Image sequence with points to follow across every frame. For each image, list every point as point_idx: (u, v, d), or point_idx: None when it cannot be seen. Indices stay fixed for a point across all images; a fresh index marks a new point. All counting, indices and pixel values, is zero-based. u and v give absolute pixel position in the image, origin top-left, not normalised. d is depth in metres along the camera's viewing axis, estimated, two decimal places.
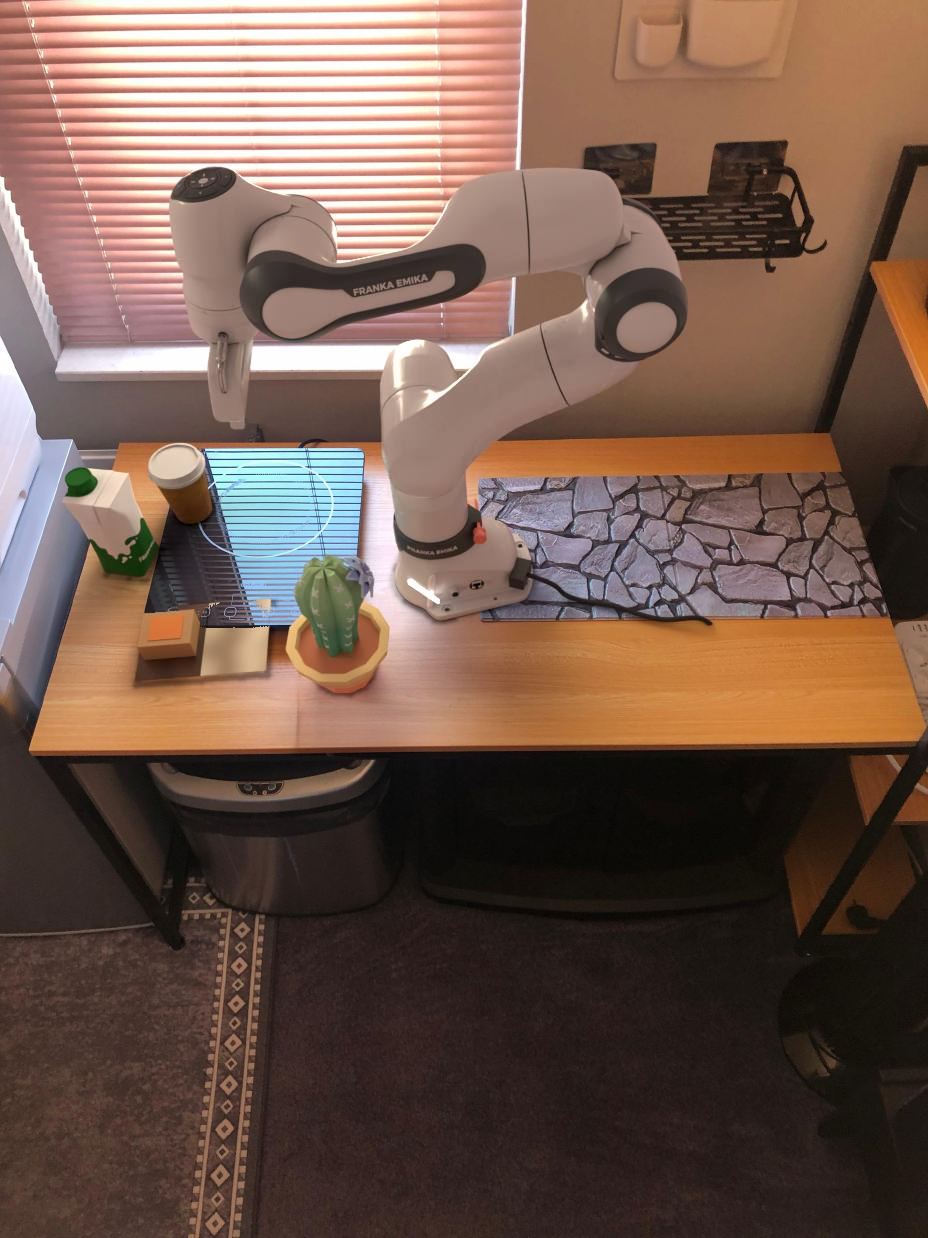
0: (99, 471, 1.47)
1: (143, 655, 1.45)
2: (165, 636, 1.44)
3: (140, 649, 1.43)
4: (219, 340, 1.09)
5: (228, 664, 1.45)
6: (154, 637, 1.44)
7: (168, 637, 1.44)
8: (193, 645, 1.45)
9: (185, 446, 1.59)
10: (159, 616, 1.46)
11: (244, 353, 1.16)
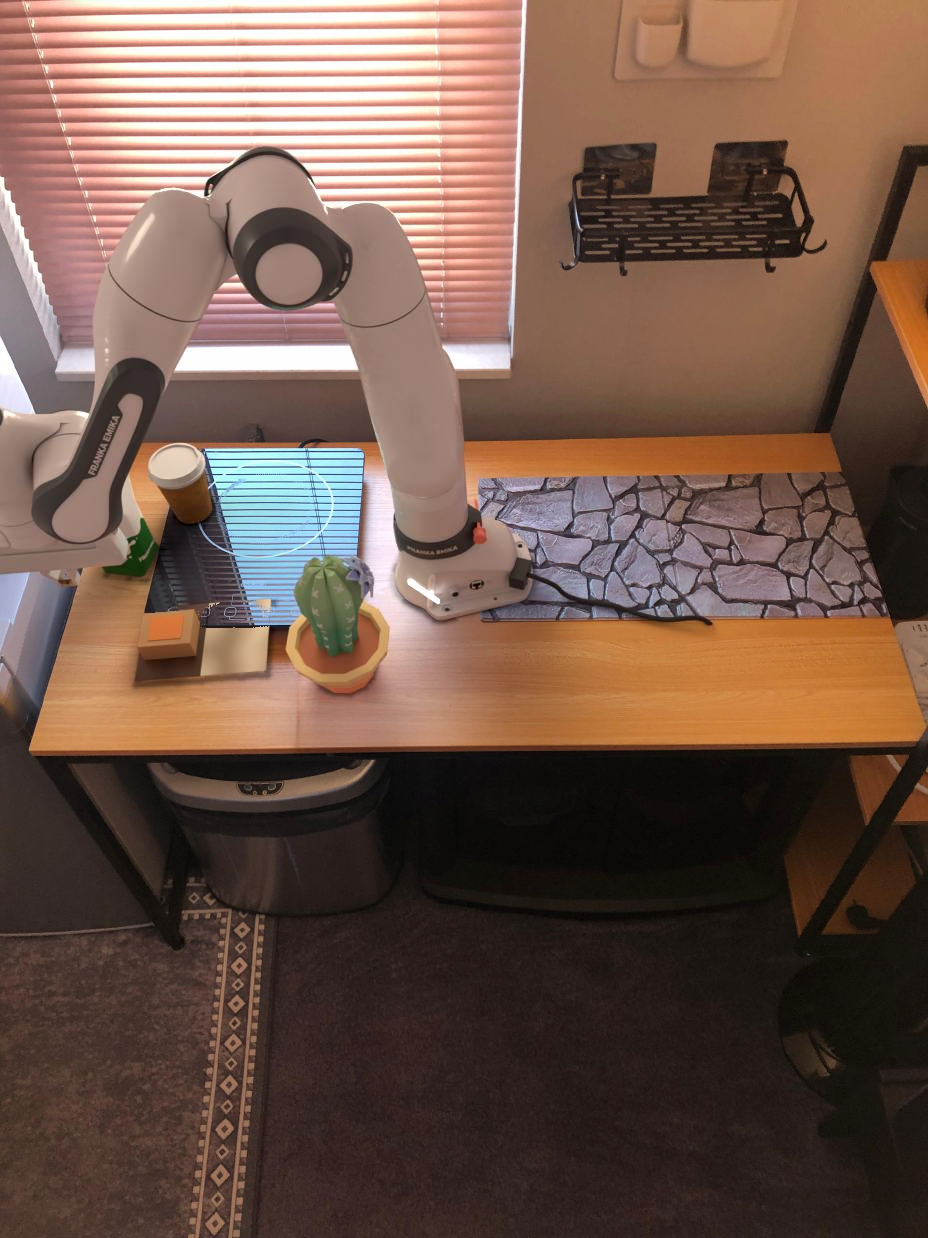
0: None
1: (143, 655, 1.45)
2: (165, 636, 1.44)
3: (140, 649, 1.43)
4: None
5: (228, 664, 1.45)
6: (154, 637, 1.44)
7: (168, 637, 1.44)
8: (193, 645, 1.45)
9: (185, 446, 1.59)
10: (159, 616, 1.46)
11: None
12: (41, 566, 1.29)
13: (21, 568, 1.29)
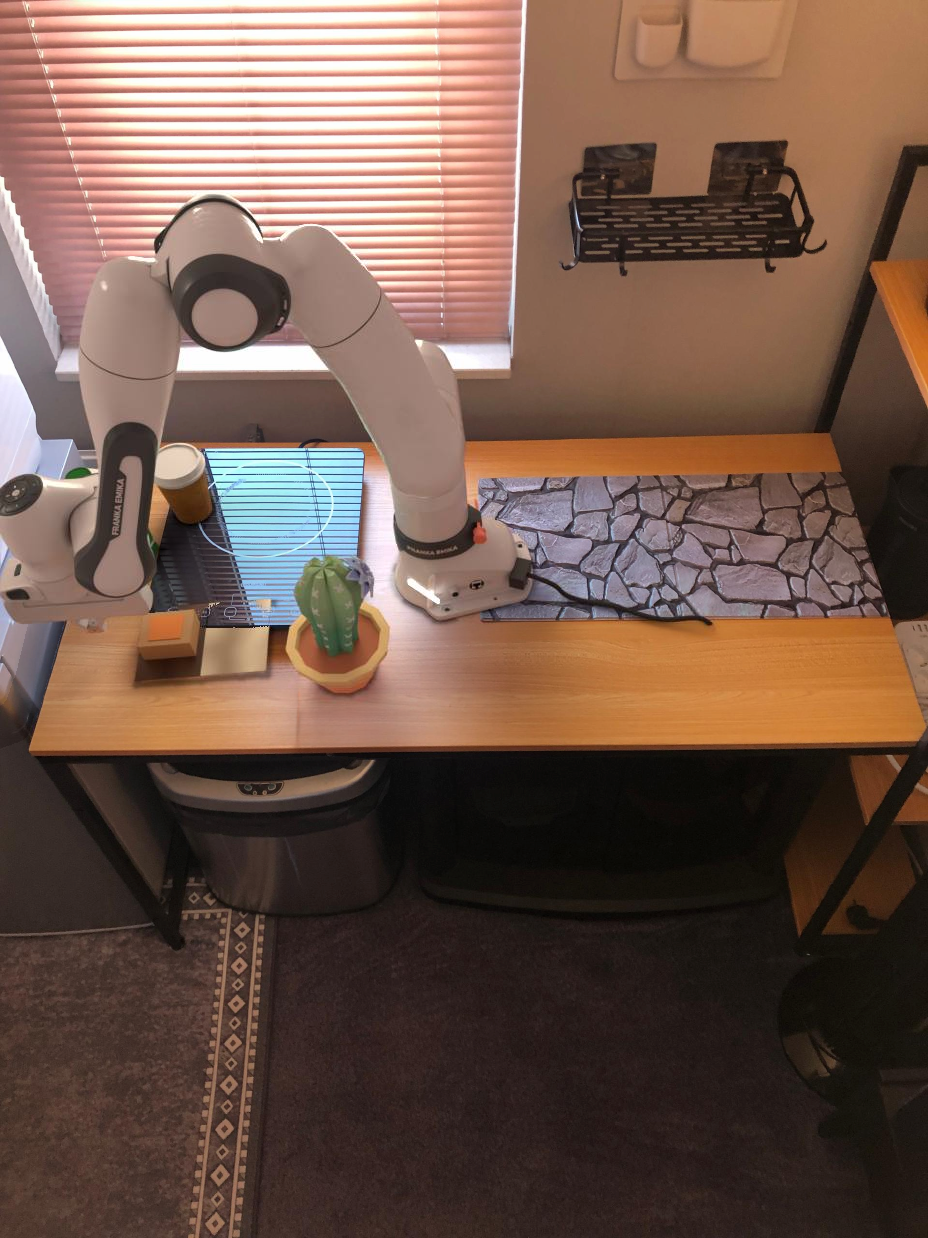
0: None
1: (143, 655, 1.45)
2: (165, 636, 1.44)
3: (140, 649, 1.43)
4: None
5: (228, 664, 1.45)
6: (154, 637, 1.44)
7: (168, 637, 1.44)
8: (193, 645, 1.45)
9: (185, 446, 1.59)
10: (159, 616, 1.46)
11: None
12: (72, 616, 1.38)
13: (53, 618, 1.38)
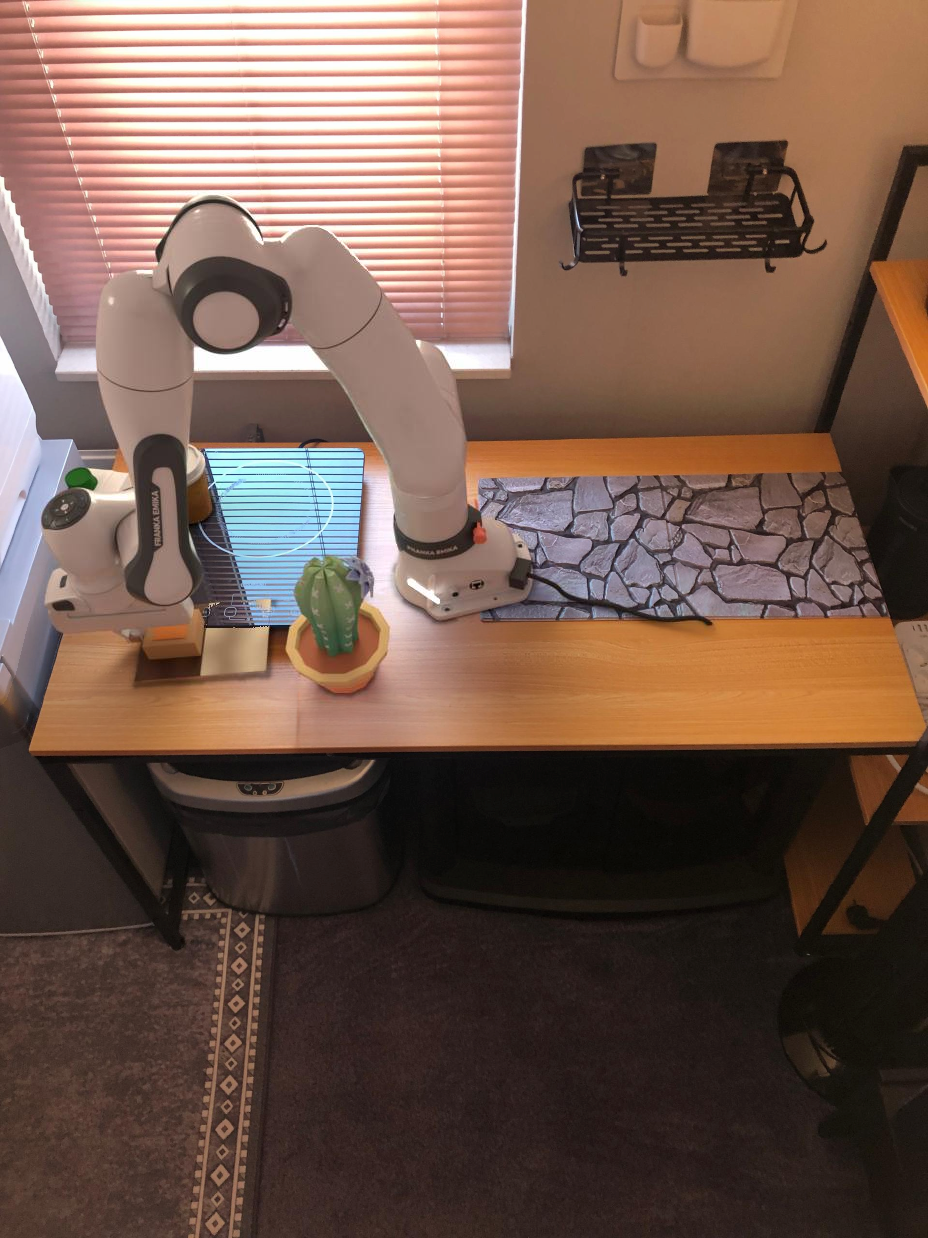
0: (99, 471, 1.47)
1: (148, 655, 1.45)
2: (170, 636, 1.44)
3: (145, 649, 1.43)
4: None
5: (228, 664, 1.45)
6: (159, 637, 1.44)
7: (173, 636, 1.44)
8: (198, 645, 1.45)
9: None
10: None
11: None
12: (114, 626, 1.41)
13: (96, 628, 1.41)
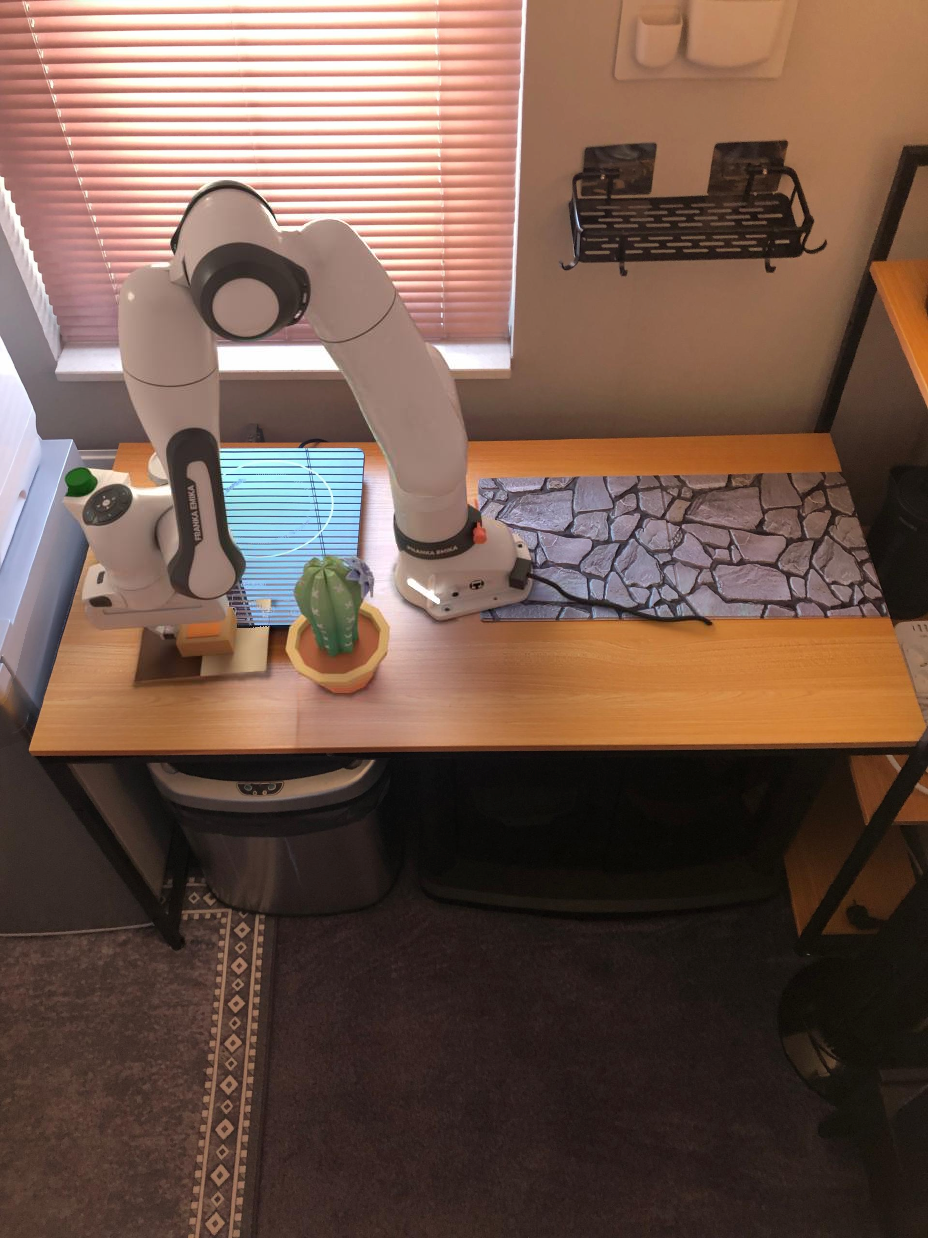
0: (99, 471, 1.47)
1: (181, 652, 1.45)
2: (204, 634, 1.44)
3: (179, 646, 1.43)
4: None
5: (228, 664, 1.45)
6: (193, 634, 1.44)
7: (206, 634, 1.44)
8: (232, 642, 1.45)
9: None
10: None
11: None
12: (150, 622, 1.41)
13: (131, 624, 1.41)
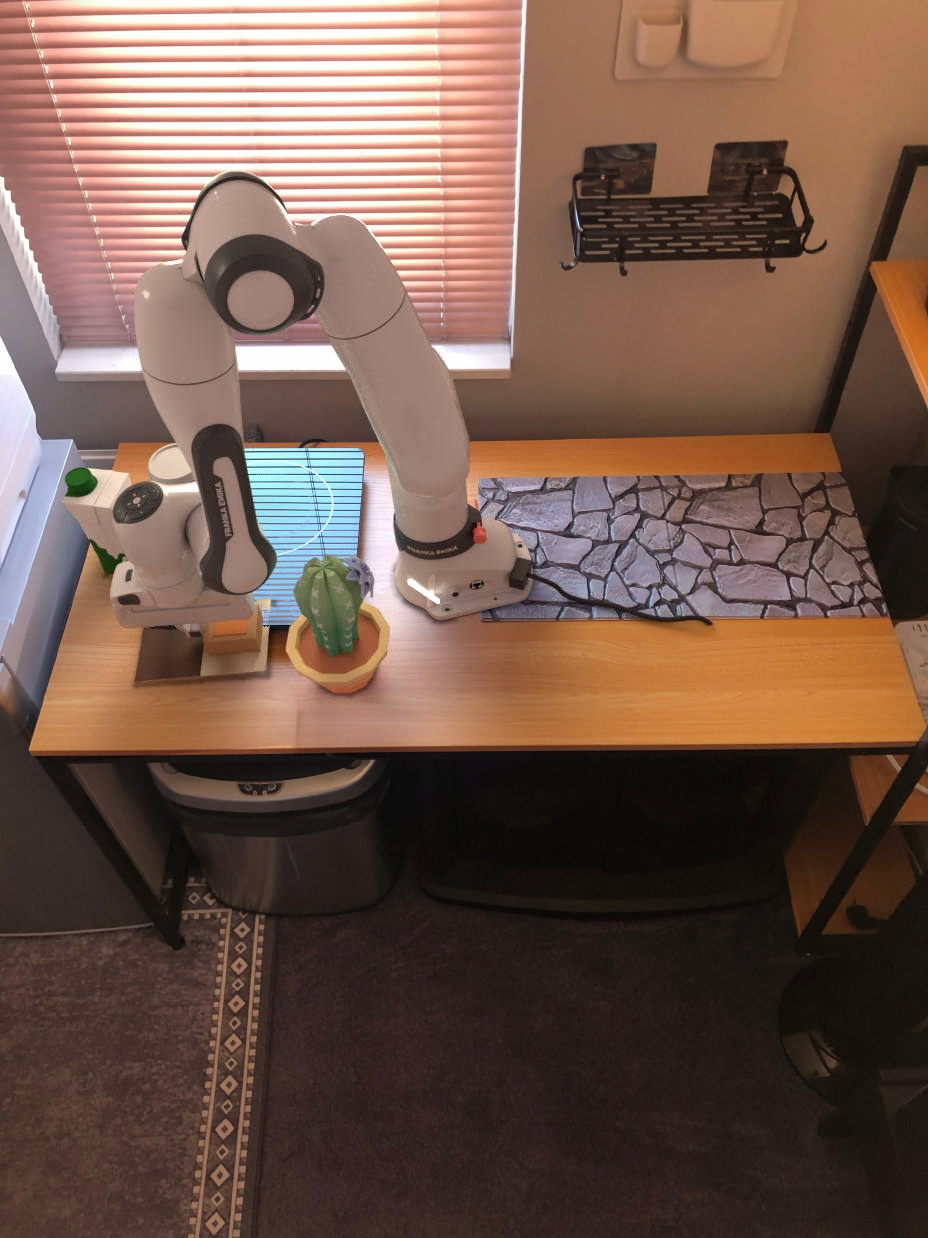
0: (99, 471, 1.47)
1: (208, 650, 1.45)
2: (231, 632, 1.44)
3: (206, 644, 1.43)
4: None
5: (228, 664, 1.45)
6: (220, 632, 1.44)
7: (233, 632, 1.44)
8: (258, 641, 1.45)
9: None
10: None
11: None
12: (177, 620, 1.41)
13: (158, 622, 1.41)
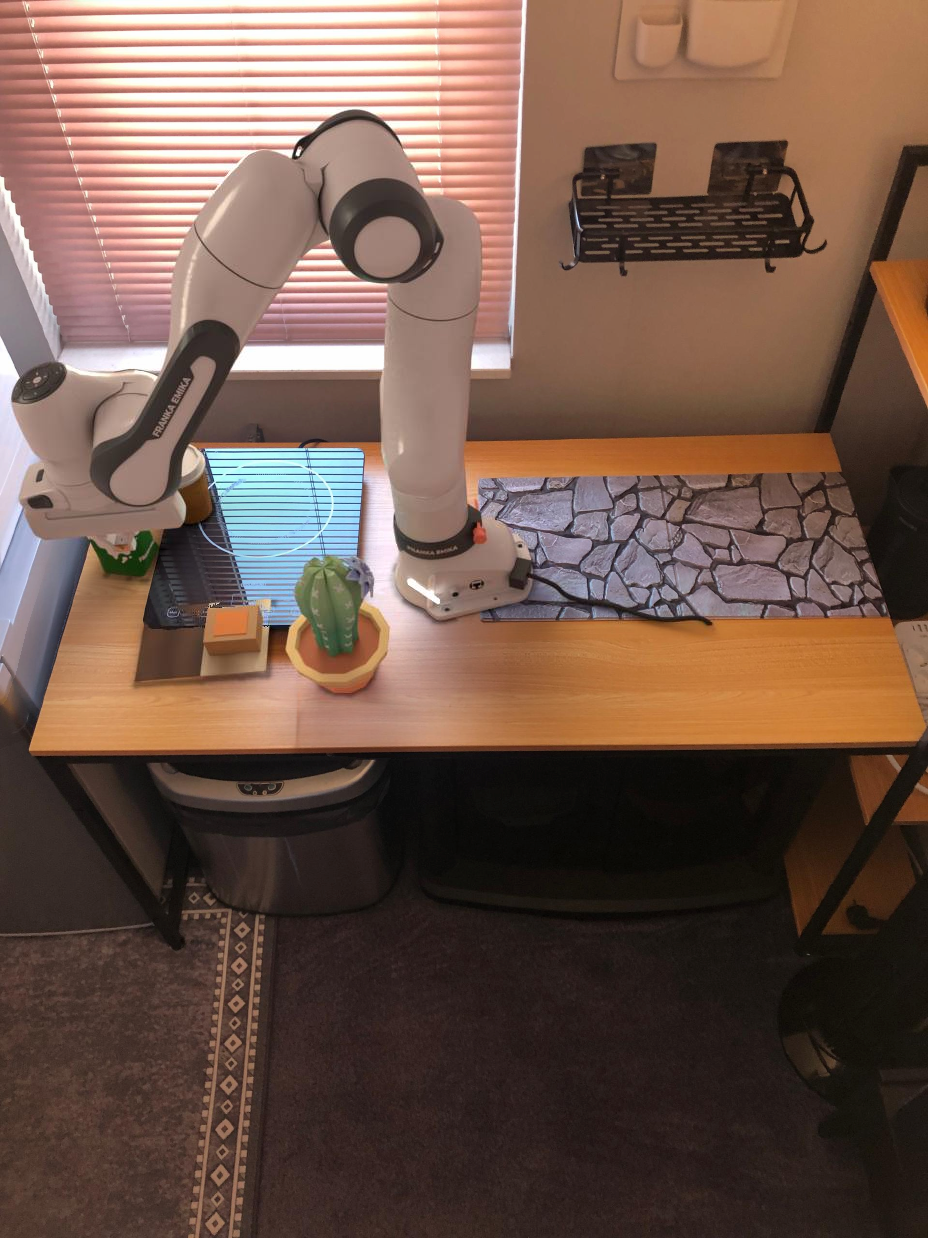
0: None
1: (208, 650, 1.45)
2: (231, 632, 1.44)
3: (206, 644, 1.43)
4: None
5: (228, 664, 1.45)
6: (220, 632, 1.44)
7: (233, 632, 1.44)
8: (258, 641, 1.45)
9: None
10: (223, 612, 1.46)
11: None
12: (98, 529, 1.27)
13: (78, 532, 1.27)
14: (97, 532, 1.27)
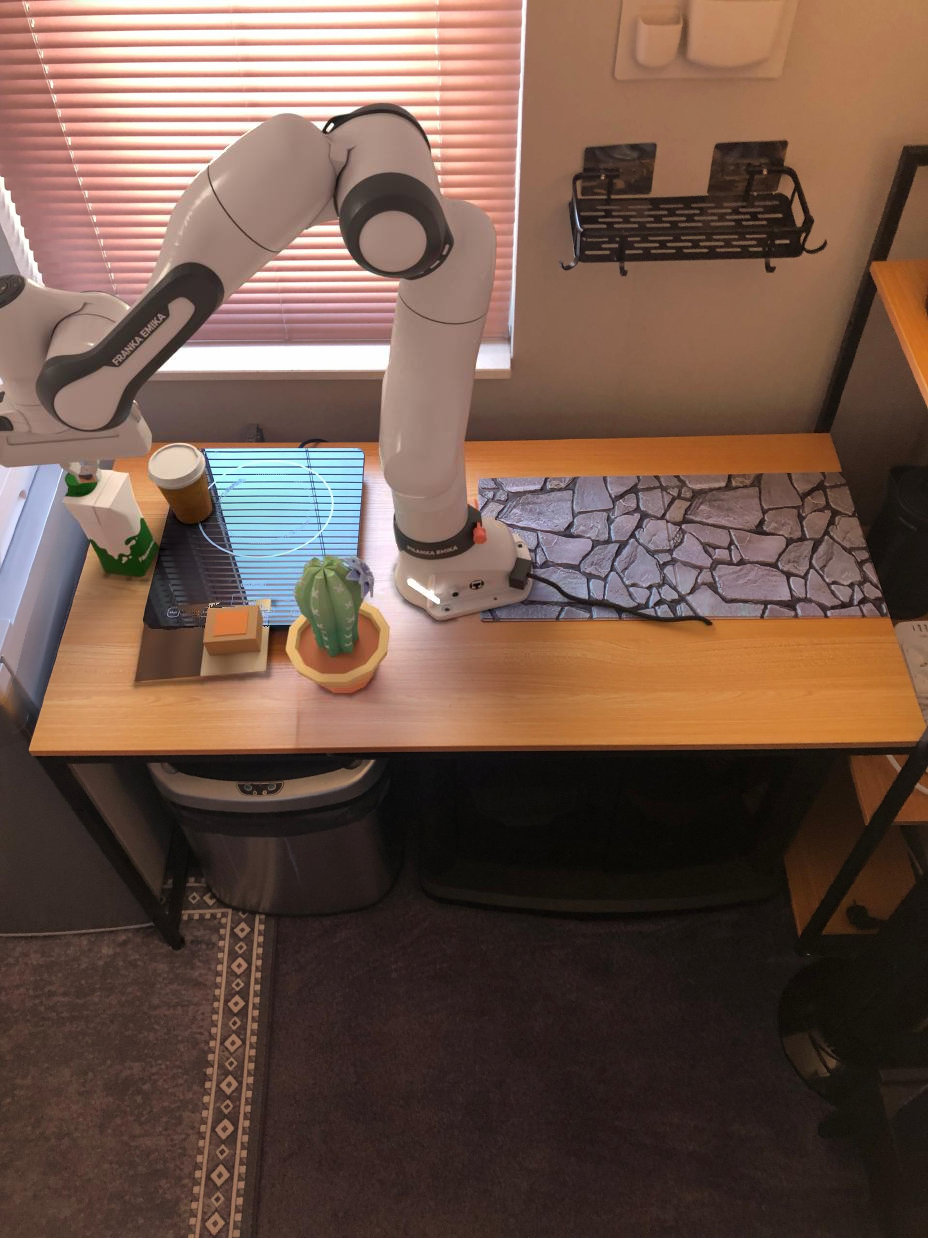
0: None
1: (208, 650, 1.45)
2: (231, 632, 1.44)
3: (206, 644, 1.43)
4: None
5: (228, 664, 1.45)
6: (220, 632, 1.44)
7: (233, 632, 1.44)
8: (258, 641, 1.45)
9: (185, 446, 1.59)
10: (223, 612, 1.46)
11: None
12: (62, 457, 1.24)
13: (41, 459, 1.24)
14: (60, 460, 1.25)
